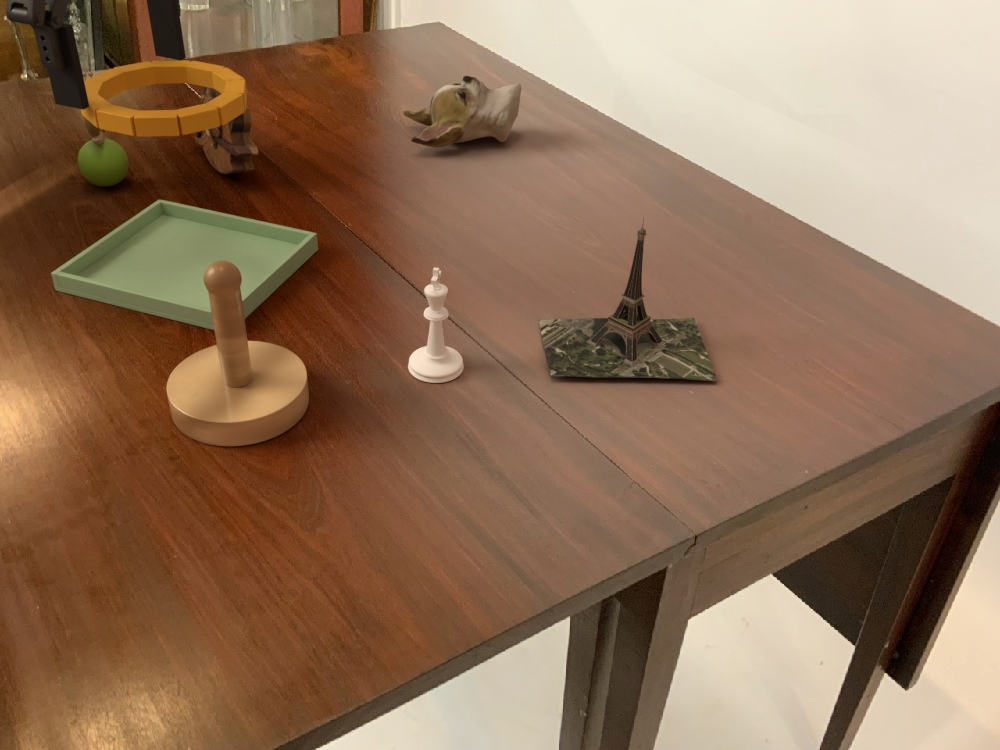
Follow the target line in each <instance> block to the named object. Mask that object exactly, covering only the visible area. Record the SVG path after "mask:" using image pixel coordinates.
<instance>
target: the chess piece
mask: <svg viewBox="0 0 1000 750" xmlns="http://www.w3.org/2000/svg"><path fill="white" fill-rule="evenodd" d="M441 277H442V271H441V270H440V267H437V266H436V267H435V266H434V267H433V268H432V277H431V279H430V283H429V284H427V285H426V286H425V287H424V288H423V289H424V290H423V292H424V293H423V294H424V296H425V297H426V300H427V303H428V307H426V308H425V309H424V311H423V317H424V318H425V319H426V320H428V321H429V329H428V335H427V343H426V345H425V346H422V347H421V346H420V347H419V348H417V349H416V350H414V351H413V352H412V353H411V354H410V356H409V358H408V364H407V368H408V372H409V373H410V375H411V376H412V377H414V379H416V380H419V381H421V382H425V383H430V384H441V383H448V382H451V381H453V380H455V379H457V378H458V377H459V376H461V374H462V373H463V371H464V368H465V367H464V365H465V364H464V359H463V356H462V355H461V353H459V351H458V350H457V349H455V348H453V347H450V346H447V345H446V344H445V337H444V330H443V321H444V320H446V319H447V318H448V317H449V315H450V314H449V311H448V309H447V308H446V307H444V304H445V300H446V299H447V297H448V293H449V289H448V287H447V286H446V285H445V284H443V283H440V279H441Z"/></svg>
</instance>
